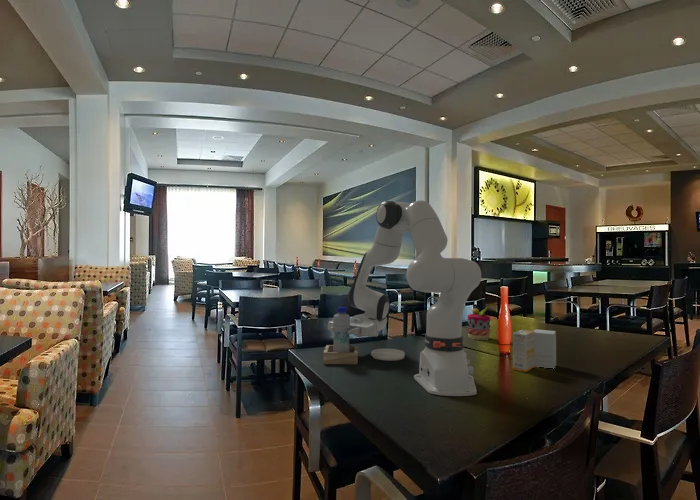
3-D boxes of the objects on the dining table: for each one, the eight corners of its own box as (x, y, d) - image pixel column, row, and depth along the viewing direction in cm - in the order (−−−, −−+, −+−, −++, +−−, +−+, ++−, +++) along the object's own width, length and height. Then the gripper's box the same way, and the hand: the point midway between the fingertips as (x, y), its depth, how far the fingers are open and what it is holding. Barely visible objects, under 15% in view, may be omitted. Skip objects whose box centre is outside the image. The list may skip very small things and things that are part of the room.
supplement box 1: (521, 365, 147) (521, 329, 147) (535, 367, 143) (535, 331, 143) (511, 369, 141) (512, 332, 141) (525, 372, 137) (525, 334, 137)
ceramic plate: (406, 361, 151) (406, 357, 151) (371, 360, 151) (371, 356, 151) (402, 352, 164) (402, 348, 164) (370, 351, 164) (370, 348, 164)
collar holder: (357, 364, 145) (357, 353, 145) (323, 363, 146) (323, 352, 146) (357, 355, 158) (357, 345, 158) (326, 355, 158) (326, 344, 158)
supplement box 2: (556, 365, 147) (556, 330, 147) (554, 370, 141) (554, 334, 141) (534, 362, 151) (534, 328, 151) (531, 366, 145) (531, 331, 145)
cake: (468, 340, 189) (469, 308, 189) (466, 335, 199) (466, 305, 199) (492, 341, 187) (492, 308, 187) (488, 336, 197) (488, 305, 197)
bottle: (350, 357, 155) (351, 305, 155) (349, 362, 148) (349, 308, 148) (333, 357, 156) (334, 305, 156) (331, 361, 149) (331, 307, 149)
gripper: (339, 315, 168) (318, 319, 157) (381, 320, 157) (362, 325, 145) (339, 330, 168) (318, 335, 157) (381, 336, 157) (362, 342, 145)
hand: (340, 330), depth 151 cm, fingers open, 6 cm apart
